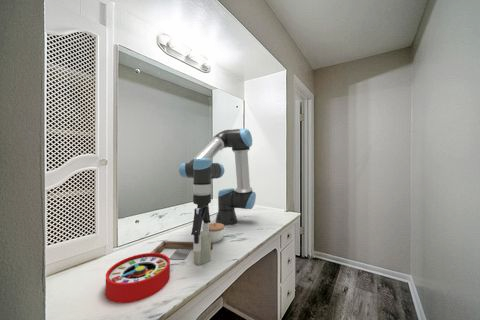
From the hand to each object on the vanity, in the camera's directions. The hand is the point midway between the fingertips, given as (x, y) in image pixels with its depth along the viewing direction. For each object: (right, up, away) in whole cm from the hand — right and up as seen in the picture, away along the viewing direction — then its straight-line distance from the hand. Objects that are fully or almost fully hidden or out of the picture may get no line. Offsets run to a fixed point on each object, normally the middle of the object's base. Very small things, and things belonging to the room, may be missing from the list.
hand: (201, 243), depth 81 cm
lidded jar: (+3, -8, +22) cm, 24 cm away
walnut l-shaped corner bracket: (-10, -8, +5) cm, 13 cm away
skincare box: (0, -8, 0) cm, 8 cm away
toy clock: (-19, -8, -14) cm, 25 cm away
